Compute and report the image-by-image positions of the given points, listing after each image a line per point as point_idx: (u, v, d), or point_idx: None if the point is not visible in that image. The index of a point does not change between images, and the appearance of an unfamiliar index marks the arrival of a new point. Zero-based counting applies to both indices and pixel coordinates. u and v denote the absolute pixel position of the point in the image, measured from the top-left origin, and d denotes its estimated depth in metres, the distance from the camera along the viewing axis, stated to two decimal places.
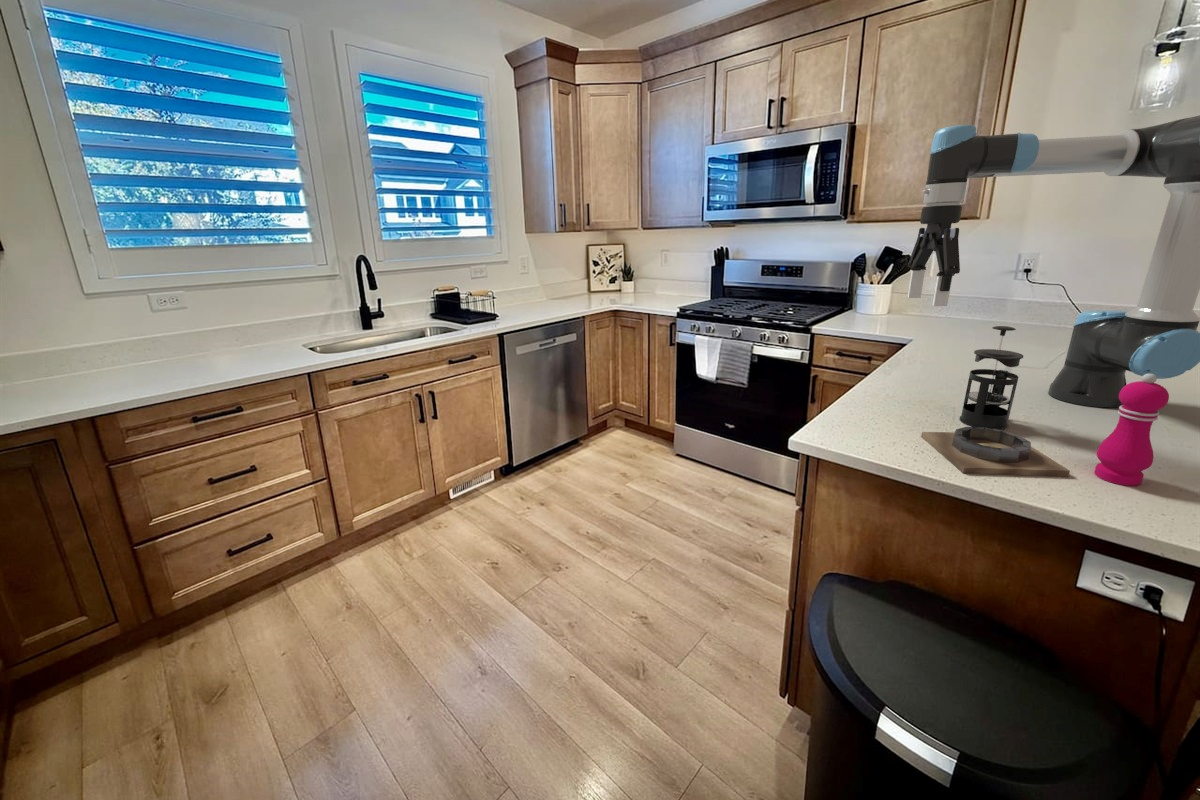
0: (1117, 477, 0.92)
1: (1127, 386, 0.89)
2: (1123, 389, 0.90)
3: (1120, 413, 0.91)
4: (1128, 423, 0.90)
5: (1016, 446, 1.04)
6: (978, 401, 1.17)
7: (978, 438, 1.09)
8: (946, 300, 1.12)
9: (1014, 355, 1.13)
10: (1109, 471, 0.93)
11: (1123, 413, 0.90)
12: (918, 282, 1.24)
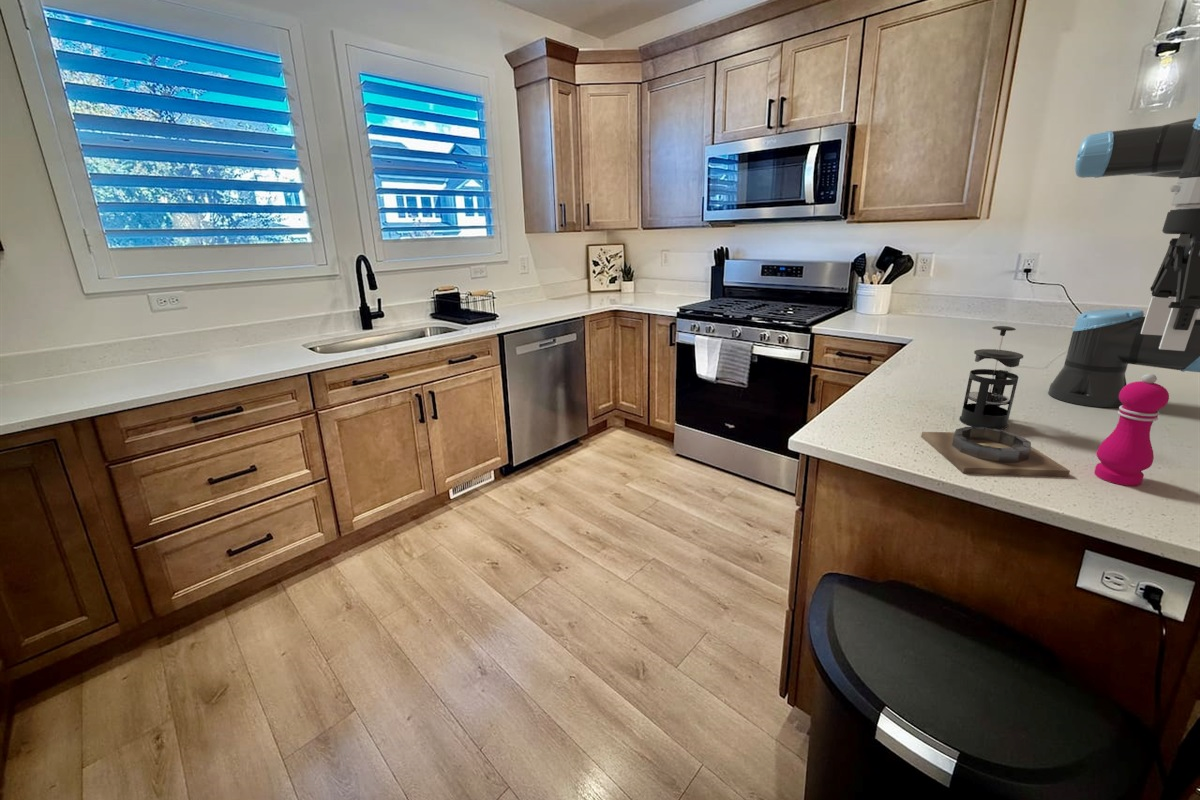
0: (1117, 477, 0.92)
1: (1128, 386, 0.89)
2: (1123, 389, 0.90)
3: (1120, 413, 0.91)
4: (1128, 423, 0.90)
5: (1016, 446, 1.04)
6: (978, 401, 1.17)
7: (978, 438, 1.09)
8: (1184, 343, 0.79)
9: (1014, 355, 1.13)
10: (1109, 471, 0.93)
11: (1123, 413, 0.90)
12: (1161, 314, 0.89)
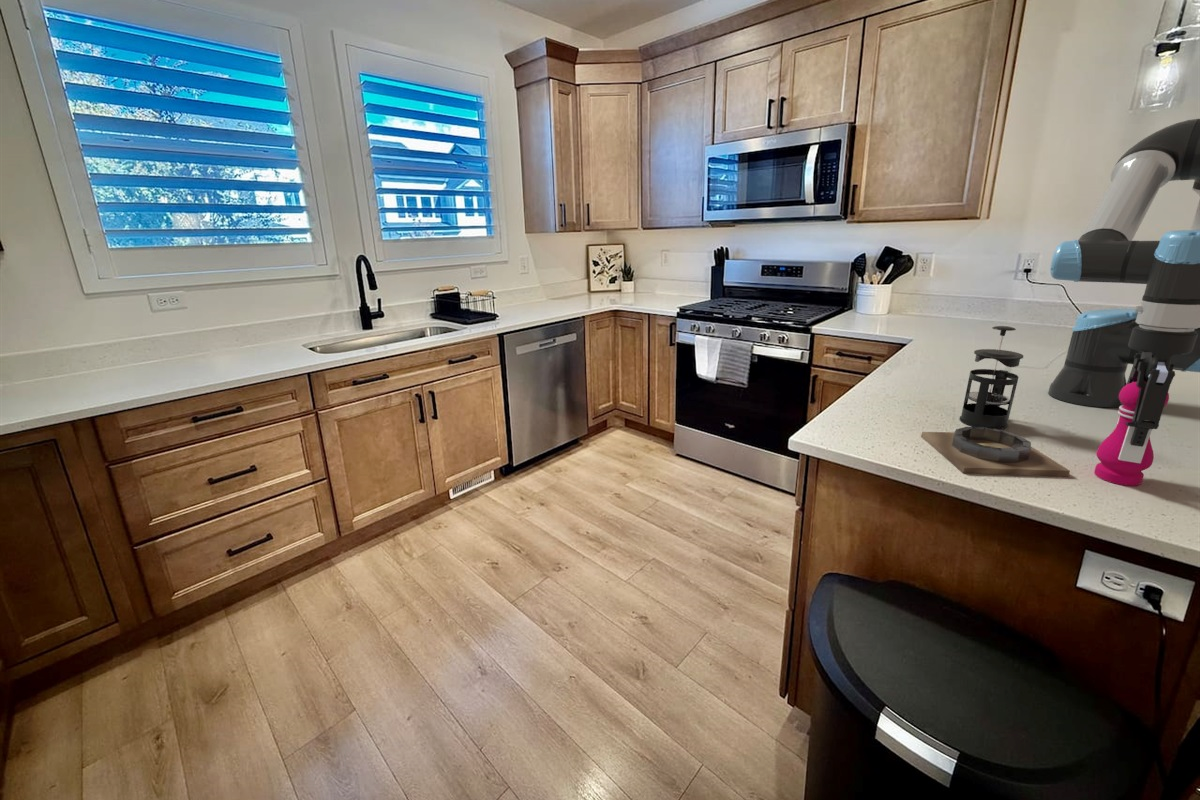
0: (1117, 477, 0.92)
1: (1128, 386, 0.89)
2: (1123, 389, 0.90)
3: (1120, 413, 0.91)
4: None
5: (1016, 446, 1.04)
6: (978, 401, 1.17)
7: (978, 438, 1.09)
8: (1140, 456, 0.88)
9: (1014, 355, 1.13)
10: (1109, 471, 0.93)
11: (1123, 413, 0.90)
12: None
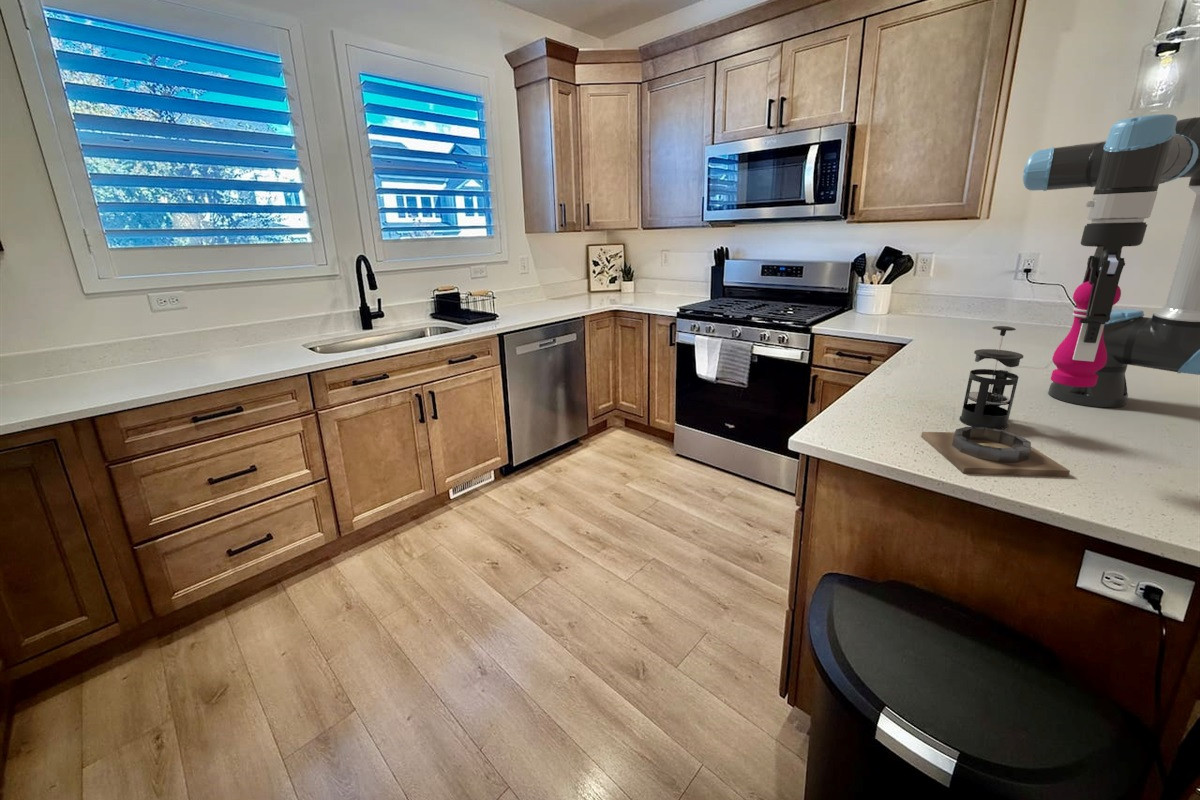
0: (1072, 379, 0.91)
1: (1081, 285, 0.89)
2: (1077, 289, 0.90)
3: (1074, 314, 0.90)
4: None
5: (1016, 446, 1.04)
6: (978, 401, 1.17)
7: (978, 438, 1.09)
8: (1093, 354, 0.88)
9: (1014, 355, 1.13)
10: (1064, 374, 0.92)
11: (1077, 313, 0.90)
12: None
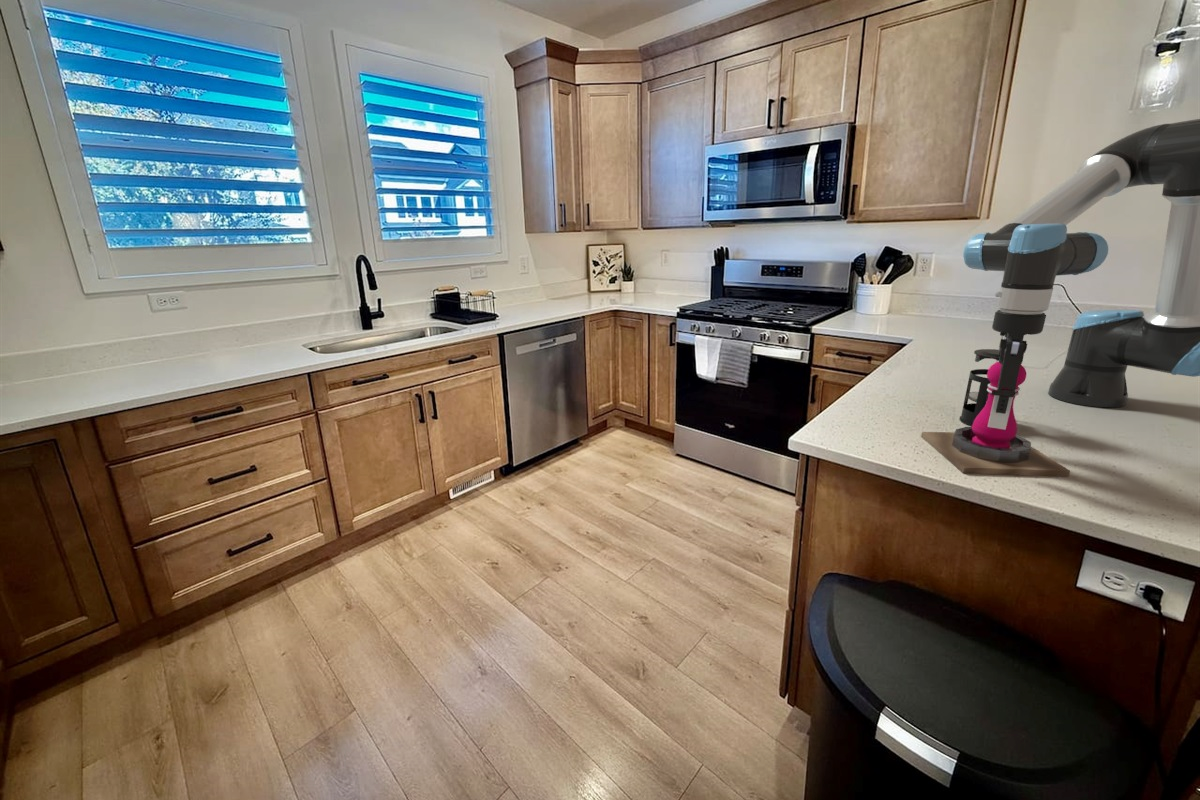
0: None
1: (993, 365, 1.00)
2: (989, 368, 1.00)
3: (988, 390, 1.01)
4: None
5: (1016, 446, 1.04)
6: (978, 401, 1.17)
7: None
8: (1004, 423, 0.96)
9: None
10: (980, 442, 1.03)
11: (990, 389, 1.01)
12: None
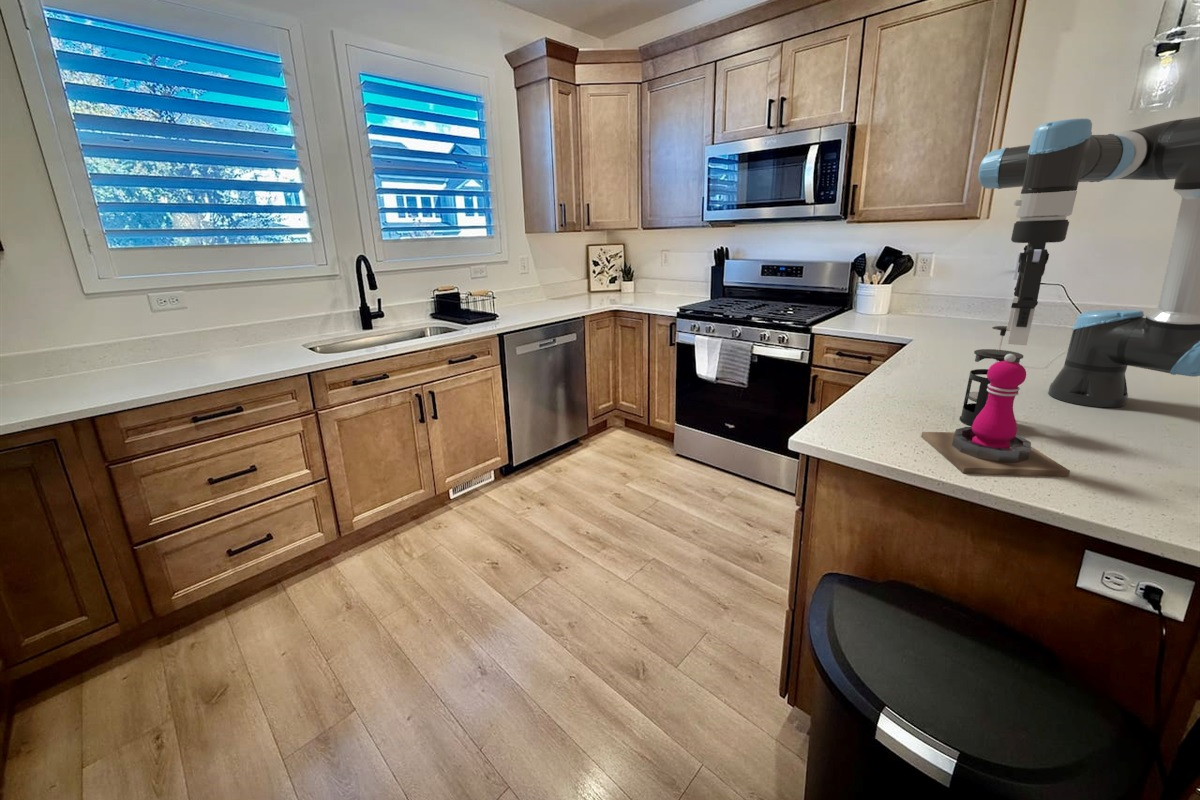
0: None
1: (993, 365, 1.00)
2: (989, 368, 1.00)
3: (988, 390, 1.01)
4: (994, 398, 1.00)
5: (1016, 446, 1.04)
6: (978, 401, 1.17)
7: None
8: (1025, 338, 0.91)
9: None
10: (980, 442, 1.03)
11: (990, 389, 1.01)
12: None
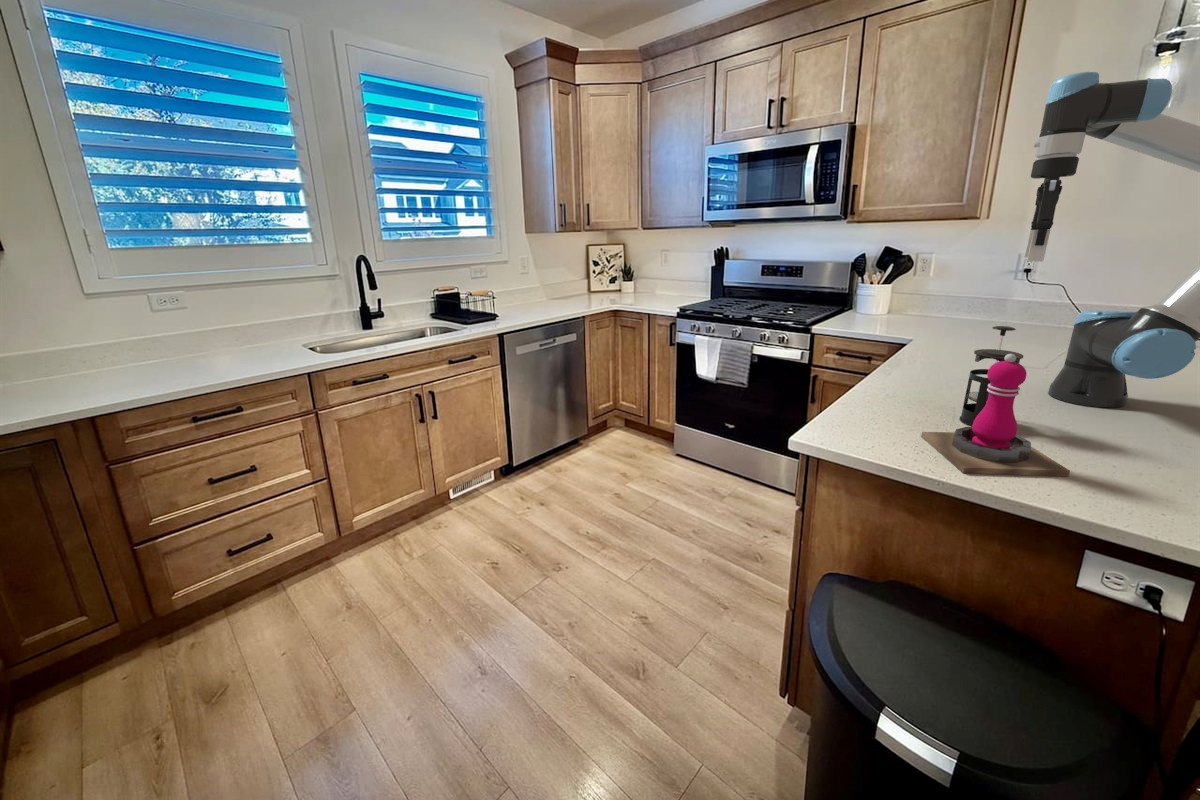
0: None
1: (993, 365, 1.00)
2: (990, 368, 1.00)
3: (988, 390, 1.01)
4: (994, 398, 1.00)
5: (1016, 446, 1.04)
6: (978, 401, 1.17)
7: None
8: (1042, 255, 1.10)
9: None
10: (980, 442, 1.03)
11: (990, 389, 1.01)
12: None
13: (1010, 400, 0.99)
